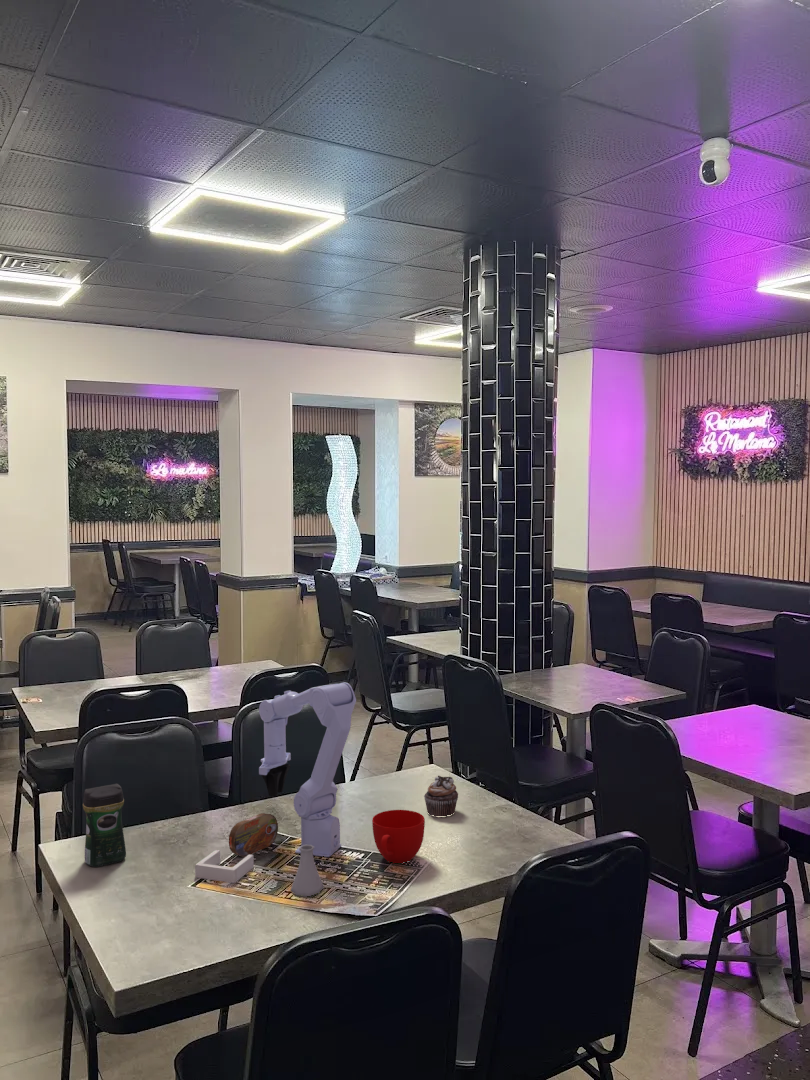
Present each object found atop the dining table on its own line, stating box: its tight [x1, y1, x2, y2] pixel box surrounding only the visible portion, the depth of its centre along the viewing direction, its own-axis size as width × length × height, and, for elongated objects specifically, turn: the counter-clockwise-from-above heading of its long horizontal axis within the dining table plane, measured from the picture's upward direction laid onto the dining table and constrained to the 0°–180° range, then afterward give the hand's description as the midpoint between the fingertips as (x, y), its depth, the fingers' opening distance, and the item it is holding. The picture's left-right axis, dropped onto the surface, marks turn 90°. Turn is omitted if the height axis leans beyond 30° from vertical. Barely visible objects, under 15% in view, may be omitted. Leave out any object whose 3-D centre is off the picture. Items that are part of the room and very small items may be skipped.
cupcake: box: [423, 775, 459, 816], centre depth 244 cm, size 10×10×10 cm
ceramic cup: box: [371, 809, 426, 864], centre depth 210 cm, size 13×17×10 cm
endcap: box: [194, 849, 255, 884], centre depth 205 cm, size 10×9×3 cm
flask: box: [290, 844, 325, 897], centre depth 195 cm, size 7×7×10 cm
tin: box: [228, 812, 279, 858], centre depth 219 cm, size 15×3×8 cm, turn 143°
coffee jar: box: [82, 783, 127, 868], centre depth 213 cm, size 10×8×19 cm
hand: (275, 793), depth 230 cm, fingers open, 3 cm apart
